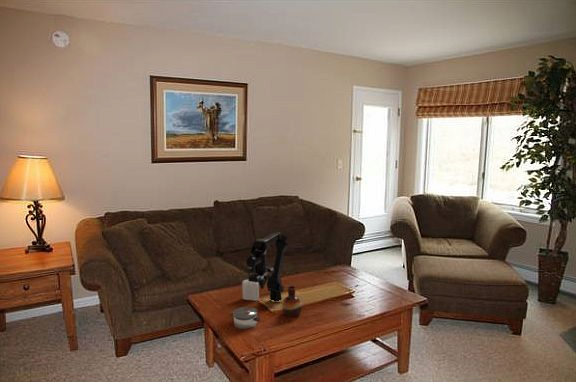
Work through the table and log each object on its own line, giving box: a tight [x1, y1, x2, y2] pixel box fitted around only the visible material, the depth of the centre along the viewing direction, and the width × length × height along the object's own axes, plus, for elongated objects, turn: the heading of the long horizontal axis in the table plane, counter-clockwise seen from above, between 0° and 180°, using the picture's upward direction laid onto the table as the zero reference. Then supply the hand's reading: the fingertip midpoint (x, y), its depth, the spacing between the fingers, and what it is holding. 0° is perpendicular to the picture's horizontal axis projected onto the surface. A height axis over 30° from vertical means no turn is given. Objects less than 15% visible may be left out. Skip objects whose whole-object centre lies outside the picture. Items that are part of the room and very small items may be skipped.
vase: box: [281, 285, 303, 318], centre depth 218 cm, size 11×11×15 cm
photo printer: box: [241, 279, 260, 302], centre depth 240 cm, size 10×4×12 cm, turn 72°
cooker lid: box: [232, 306, 258, 319], centre depth 209 cm, size 13×13×2 cm
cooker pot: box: [230, 311, 261, 330], centre depth 209 cm, size 12×17×5 cm
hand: (262, 288), depth 223 cm, fingers closed
